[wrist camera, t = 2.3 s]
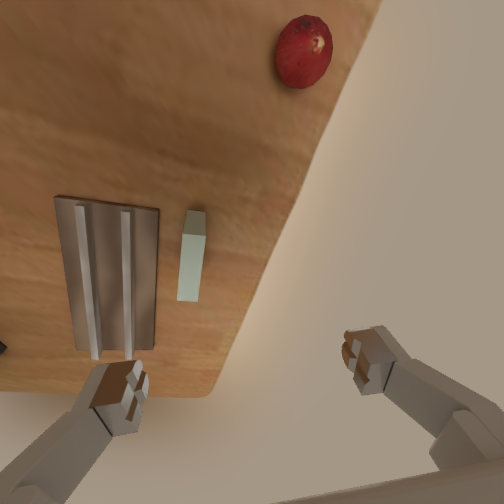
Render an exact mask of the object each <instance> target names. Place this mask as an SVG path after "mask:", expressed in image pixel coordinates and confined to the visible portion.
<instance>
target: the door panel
mask: <svg viewBox="0 0 504 504" xmlns="http://www.w3.org/2000/svg"><path fill="white" fill-rule="evenodd" d="M205 240H206V212H201V211H194V210H187V215H186V220H185V225H184V229H183V235H182V247H181V259H180V270H179V282H178V294H177V301H198V294H199V286H200V278H201V271H202V263H203V255H204V248H205Z"/></svg>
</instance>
